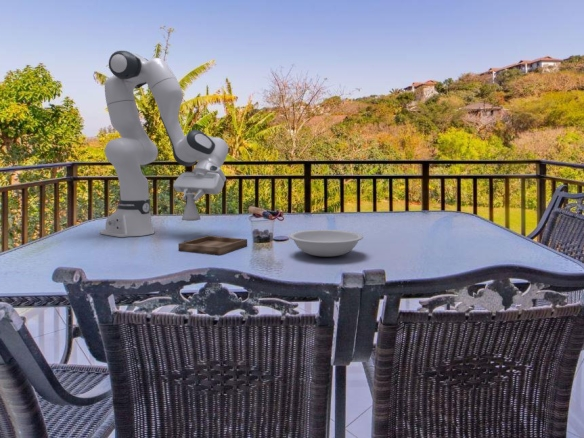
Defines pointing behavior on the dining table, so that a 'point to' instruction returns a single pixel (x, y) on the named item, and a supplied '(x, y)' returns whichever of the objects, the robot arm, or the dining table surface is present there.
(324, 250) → the soup bowl
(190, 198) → the flask
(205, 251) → the walnut tray
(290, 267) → the dining table surface
